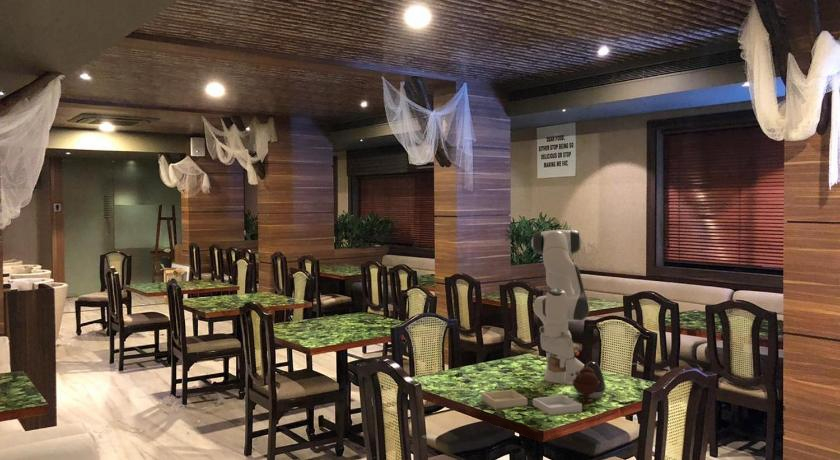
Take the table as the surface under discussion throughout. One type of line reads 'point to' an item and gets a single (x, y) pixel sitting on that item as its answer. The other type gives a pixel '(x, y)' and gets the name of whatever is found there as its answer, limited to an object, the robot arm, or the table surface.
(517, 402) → the cream bin
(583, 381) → the ice cream bowl
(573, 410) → the grey bin
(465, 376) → the table surface
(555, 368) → the walnut block
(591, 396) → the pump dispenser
